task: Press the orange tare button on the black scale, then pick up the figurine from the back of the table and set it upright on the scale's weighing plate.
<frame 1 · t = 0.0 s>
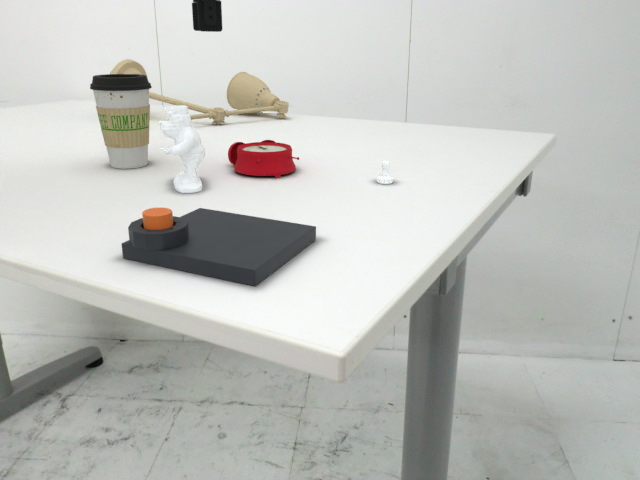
hand: (207, 31, 84), 22 cm above the table, tool pointing down, fingers open, 9 cm apart
scale: (224, 248, 63), on the table
chess pawn: (384, 183, 91), on the table
coffee cup: (129, 165, 100), on the table
desk lamp: (206, 118, 152), on the table
alarm clock: (261, 169, 98), on the table
tare button: (158, 219, 59), point 4 cm above the table, slide at 0.1 cm
figurine: (185, 186, 87), on the table
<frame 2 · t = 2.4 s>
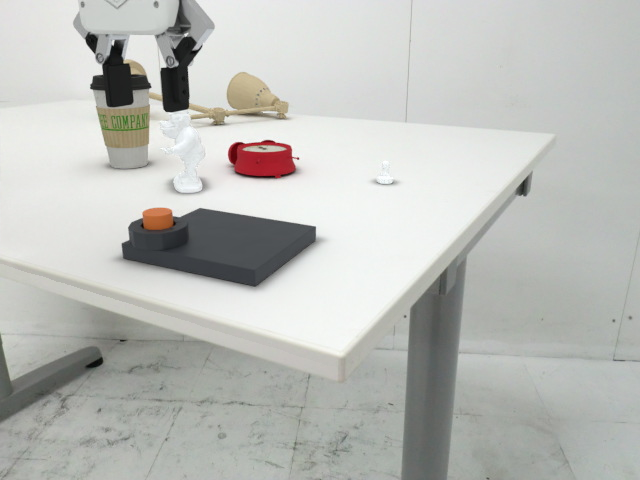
hand: (148, 106, 55), 16 cm above the table, tool pointing down, fingers open, 6 cm apart
nothing on the table moved.
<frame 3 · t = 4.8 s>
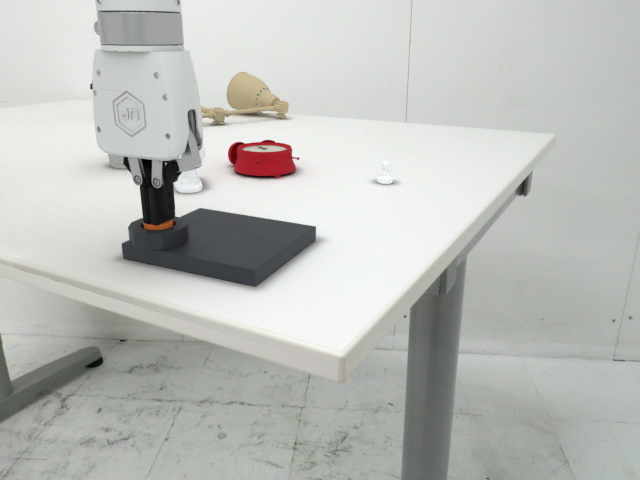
hand: (159, 220, 59), 4 cm above the table, tool pointing down, fingers closed
tare button: (158, 228, 60), point 3 cm above the table, slide at -0.9 cm, touching gripper
everything else where it was.
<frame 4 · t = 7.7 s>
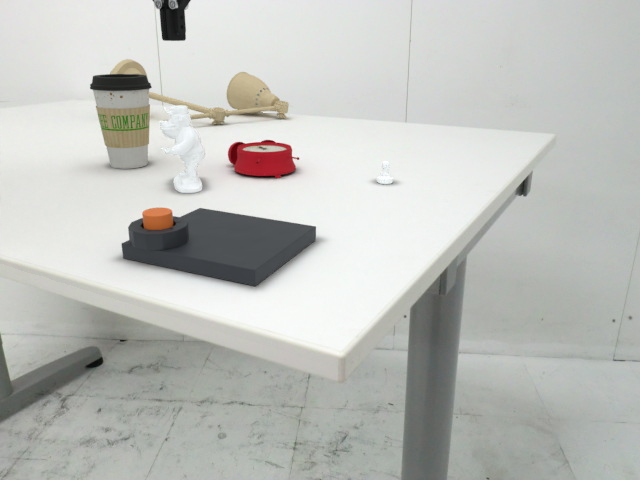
hand: (174, 40, 79), 21 cm above the table, tool pointing down, fingers closed
tare button: (158, 219, 59), point 4 cm above the table, slide at 0.1 cm
everything else where it was.
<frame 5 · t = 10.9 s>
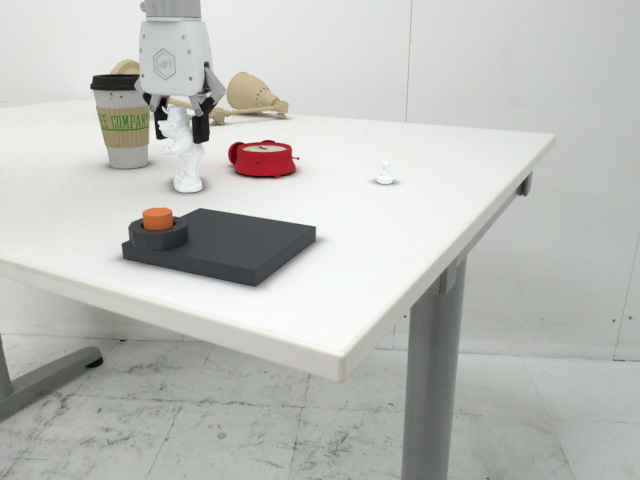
hand: (182, 139, 85), 7 cm above the table, tool pointing down, fingers closed on figurine, 6 cm apart
figurine: (185, 186, 87), on the table, touching gripper
everything else where it was.
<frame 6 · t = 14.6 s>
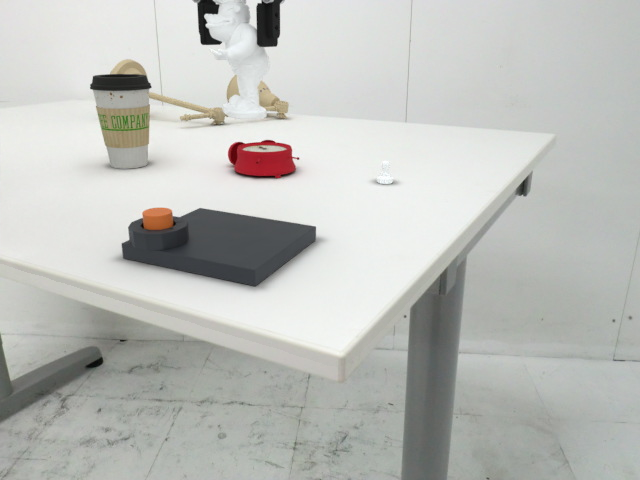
hand: (239, 43, 58), 21 cm above the table, tool pointing down, fingers closed on figurine, 6 cm apart
figurine: (239, 115, 61), point 14 cm above the table, touching gripper
everything else where it was.
when the fingers open (9 cm above the table, at t = 18.5 s): figurine stays where it is, resting on scale.
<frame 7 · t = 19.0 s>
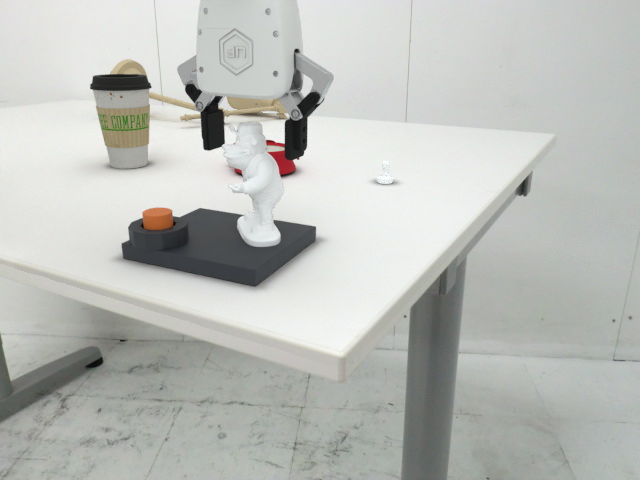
hand: (253, 152, 60), 11 cm above the table, tool pointing down, fingers open, 9 cm apart
figurine: (254, 234, 63), point 2 cm above the table, touching scale
everything else where it was.
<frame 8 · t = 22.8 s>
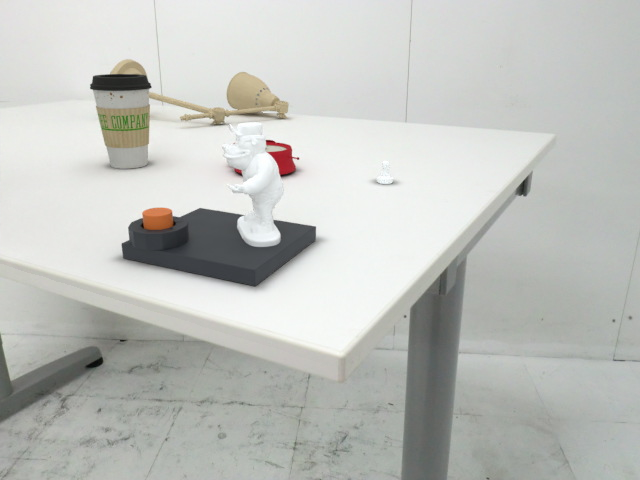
nothing on the table moved.
at the end: tare button pushed in 1.1 cm at the most during the clip, back to where it started at the end; figurine inside the target area on the scale (3.4 cm from its centre), point 1.5 cm above the scale's base; figurine touching scale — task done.
